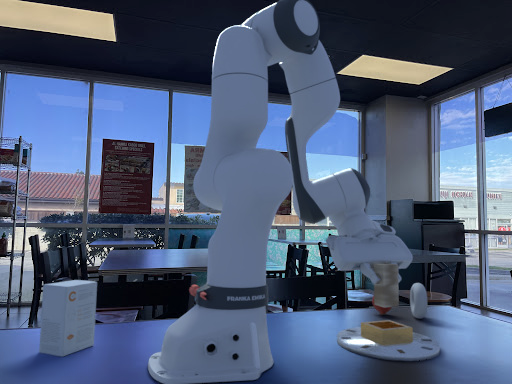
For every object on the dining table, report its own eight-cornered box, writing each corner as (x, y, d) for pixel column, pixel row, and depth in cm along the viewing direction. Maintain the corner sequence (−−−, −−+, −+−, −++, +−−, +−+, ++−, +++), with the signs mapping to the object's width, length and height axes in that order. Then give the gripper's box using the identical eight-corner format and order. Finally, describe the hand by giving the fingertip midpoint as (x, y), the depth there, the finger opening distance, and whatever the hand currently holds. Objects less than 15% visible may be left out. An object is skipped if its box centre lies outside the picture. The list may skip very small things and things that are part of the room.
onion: (371, 312, 119) (370, 285, 120) (390, 313, 118) (390, 286, 119) (373, 316, 113) (373, 288, 114) (394, 317, 112) (394, 289, 113)
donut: (429, 322, 107) (428, 285, 108) (415, 321, 107) (415, 284, 108) (421, 315, 116) (420, 280, 117) (409, 314, 117) (408, 280, 118)
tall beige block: (384, 307, 84) (383, 265, 85) (374, 304, 87) (373, 263, 88) (398, 306, 85) (397, 264, 86) (388, 303, 88) (387, 263, 89)
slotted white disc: (379, 366, 72) (379, 342, 72) (319, 336, 91) (319, 317, 91) (463, 354, 79) (462, 333, 80) (391, 329, 99) (390, 312, 99)
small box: (71, 341, 83) (75, 279, 84) (94, 345, 80) (98, 281, 82) (37, 352, 75) (42, 283, 76) (62, 357, 73) (66, 286, 74)
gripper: (328, 226, 90) (354, 274, 80) (398, 227, 98) (430, 271, 88) (318, 244, 94) (342, 293, 84) (386, 244, 102) (415, 288, 92)
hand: (388, 281), depth 86 cm, fingers closed on tall beige block, 4 cm apart
